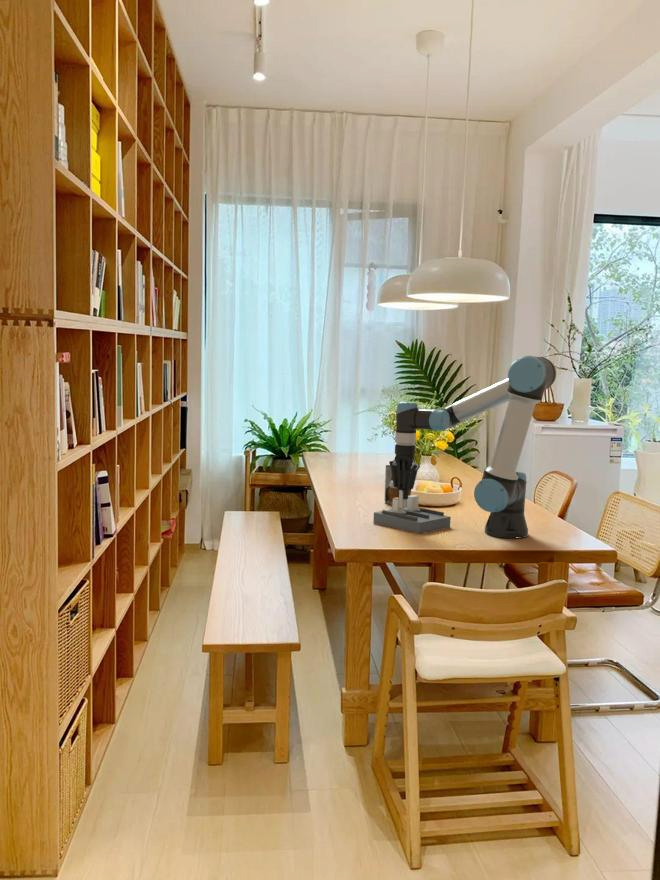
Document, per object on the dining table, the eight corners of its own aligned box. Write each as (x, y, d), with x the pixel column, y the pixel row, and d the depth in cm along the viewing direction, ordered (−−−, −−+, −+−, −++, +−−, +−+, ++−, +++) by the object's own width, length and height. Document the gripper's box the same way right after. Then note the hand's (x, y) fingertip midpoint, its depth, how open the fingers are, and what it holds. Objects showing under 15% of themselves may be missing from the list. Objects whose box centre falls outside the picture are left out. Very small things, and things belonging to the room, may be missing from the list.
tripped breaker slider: (406, 513, 281) (407, 498, 280) (397, 515, 277) (398, 499, 277) (398, 511, 284) (398, 496, 283) (389, 513, 280) (390, 497, 279)
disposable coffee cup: (391, 513, 302) (393, 483, 300) (385, 508, 311) (386, 480, 310) (414, 513, 304) (416, 484, 302) (407, 508, 313) (409, 480, 312)
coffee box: (404, 502, 328) (406, 465, 326) (405, 504, 322) (407, 467, 320) (383, 501, 328) (385, 464, 326) (384, 504, 322) (386, 466, 320)
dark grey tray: (450, 527, 280) (451, 501, 279) (419, 533, 267) (420, 506, 266) (404, 517, 295) (405, 492, 294) (373, 522, 283) (374, 496, 282)
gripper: (425, 445, 274) (422, 509, 277) (398, 441, 284) (395, 503, 286) (412, 446, 269) (409, 511, 272) (385, 442, 278) (382, 505, 281)
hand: (402, 507), depth 279 cm, fingers closed
